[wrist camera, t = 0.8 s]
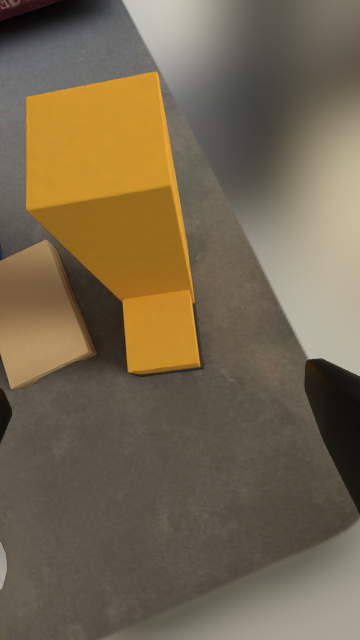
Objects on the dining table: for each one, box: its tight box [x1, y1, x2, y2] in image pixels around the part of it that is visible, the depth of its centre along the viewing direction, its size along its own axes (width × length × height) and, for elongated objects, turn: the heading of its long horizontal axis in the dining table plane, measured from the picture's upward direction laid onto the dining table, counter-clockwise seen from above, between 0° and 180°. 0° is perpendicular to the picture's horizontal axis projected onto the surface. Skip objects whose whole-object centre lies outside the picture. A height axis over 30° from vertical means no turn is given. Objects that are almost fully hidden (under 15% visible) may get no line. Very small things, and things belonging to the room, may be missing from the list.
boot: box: [26, 71, 204, 377], centre depth 16 cm, size 9×5×14 cm, turn 7°
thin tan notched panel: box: [0, 240, 97, 389], centre depth 23 cm, size 10×6×2 cm, turn 25°
